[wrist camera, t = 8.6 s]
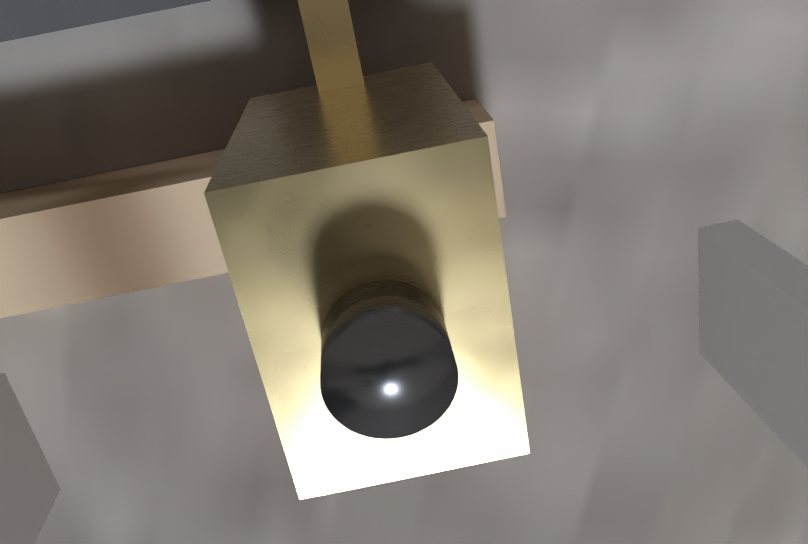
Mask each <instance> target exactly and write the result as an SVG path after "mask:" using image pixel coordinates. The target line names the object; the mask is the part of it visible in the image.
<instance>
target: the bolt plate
mask: <svg viewBox="0 0 808 544" xmlns="http://www.w3.org/2000/svg"><path fill="white" fill-rule="evenodd" d="M205 1H210V0H0V42H4V41H9V40H14V39H19V38H24V37H29V36H34V35H39V34H44V33H49V32H54V31H59V30H64V29H69V28H74V27H79V26H84V25H89V24H94V23H99V22H104V21H109V20H114V19H119V18H124V17H129V16H134V15H139V14H145V13H150V12H155V11H160V10H165V9H170V8H175V7H180V6H185V5H190V4H195V3H200V2H205Z"/></svg>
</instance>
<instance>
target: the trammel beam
mask: <svg viewBox="0 0 808 544" xmlns="http://www.w3.org/2000/svg"><path fill="white" fill-rule="evenodd" d="M462 103H463V104H464V105H465V107H466V108H467V109H468V110H469V112H470V113H471V114H472V116H473V117H474V118H475V120H476V121H477V122H478V124H479V125H480V126H481V128H482V129H483V130H484V132H485V133H486V134H487V136H488V141H489V148H490V156H491V163H492V171H493V179H494V186H495V194H496V201H497V209H498V216H499V218H504V217H506V211H505V204H504V196H503V188H502V180H501V172H500V165H499V157H498V149H497V141H496V133H495V125H494V120H493V119H492V118H491V116H490V115H489V114H488V113H487V112H486V111H485V109H484V108H483V107H482V106H481V105H480V104H479V102H478V101H477V100H476V99H472V100H467V101H462ZM224 151H225V149H222V150H217V151H212V152H207V153H202V154H197V155H192V156H187V157H182V158H177V159H172V160H167V161H162V162H157V163H152V164H147V165H142V166H137V167H132V168H127V169H122V170H117V171H112V172H107V173H102V174H97V175H92V176H87V177H82V178H77V179H72V180H67V181H62V182H57V183H52V184H47V185H42V186H37V187H32V188H27V189H22V190H17V191H12V192H6V193H1V194H0V318H5V317H10V316H15V315H20V314H25V313H30V312H35V311H40V310H45V309H50V308H55V307H60V306H65V305H70V304H75V303H80V302H85V301H90V300H95V299H100V298H104V297H109V296H114V295H119V294H124V293H129V292H134V291H139V290H144V289H149V288H154V287H159V286H164V285H169V284H174V283H179V282H184V281H189V280H194V279H199V278H204V277H209V276H214V275H219V274H224V273H229V272H228V269H227V265H226V262H225V259H224V256H223V253H222V249H221V246H220V243H219V240H218V237H217V233H216V230H215V227H214V224H213V221H212V217H211V214H210V211H209V208H208V205H207V201H206V198H205V195H204V192H205V189H206V187H207V185H208V183H209V181H210V179H211V177H212V175H213V173H214V171H215V169H216V167H217V165H218V163H219V161H220V159H221V157H222V155H223V153H224Z"/></svg>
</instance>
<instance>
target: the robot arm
mask: <svg viewBox="0 0 808 544" xmlns="http://www.w3.org/2000/svg"><path fill="white" fill-rule="evenodd" d="M698 262H699V331H700V353H701V354H702V355H703V357H704V358H705V359H706V360H707V361H708V362H709V363H710V364H711V365H712V366H713V367H714V368H715V369H716V370H717V372H718V373H719V374H720V375H721V376H722V377H723V378H724V379H725V380H726V381H727V382H728V383H729V384H730V386H731V387H732V388H733V389H734V390H735V391H736V392H737V393H738V394H739V395H740V396H741V397H742V398H743V399H744V401H745V402H746V403H747V404H748V405H749V406H750V407H751V408H752V409H753V410H754V411H755V412H756V413H757V414H758V416H759V417H760V418H761V419H762V420H763V421H764V422H765V423H766V424H767V425H768V426H769V427H770V428H771V430H772V431H773V432H774V433H775V434H776V435H777V436H778V437H779V438H780V439H781V440H782V441H783V442H784V443H785V445H786V446H787V447H788V448H789V449H790V450H791V451H792V452H793V453H794V454H795V455H796V456H797V457H798V459H799V460H800V461H801V462H802V463H803V464H804V465H805V466H806V467H807V468H808V266H807V265H806V264H804V263H803V262H801V261H800V260H798V259H797V258H795V257H794V256H792V255H791V254H789V253H788V252H786V251H785V250H783V249H782V248H780V247H778V246H777V245H775V244H774V243H772V242H771V241H769V240H768V239H766V238H765V237H763V236H762V235H760V234H759V233H757V232H756V231H754V230H753V229H751V228H750V227H748V226H747V225H745V224H744V223H742V222H741V221H739V220H733V221H728V222H724V223H719V224H714V225H709V226H705V227H700V228H698ZM59 490H60V487H59V485H58V483H57V481H56V479H55V477H54V475H53V473H52V471H51V468H50V466H49V464H48V462H47V460H46V458H45V456H44V454H43V452H42V450H41V448H40V445H39V443H38V441H37V439H36V437H35V435H34V433H33V431H32V429H31V427H30V425H29V422H28V420H27V418H26V416H25V414H24V412H23V410H22V408H21V406H20V404H19V402H18V399H17V397H16V395H15V393H14V391H13V389H12V387H11V385H10V383H9V381H8V379H7V376H6V374H5V373H2V374H0V544H34V543H35V541H36V539H37V536H38V534H39V532H40V530H41V528H42V526H43V524H44V522H45V520H46V518H47V515H48V513H49V511H50V509H51V507H52V505H53V503H54V501H55V499H56V497H57V494H58V492H59Z"/></svg>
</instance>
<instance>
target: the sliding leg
mask: <svg viewBox="0 0 808 544" xmlns="http://www.w3.org/2000/svg"><path fill="white" fill-rule="evenodd" d="M298 4H299V9H300V13H301V18H302V22H303V26H304V31H305V35H306V40H307V44H308V48H309V53H310V57H311V61H312V66H313V70H314V75H315V79H316V83H317V85H313V86H308V87H303V88H298V89H293V90H288V91H283V92H278V93H273V94H268V95H263V96H258V97H253V98H250V99H249V102H248V104H247V106H246V108H245V110H244V112H243V114H242V116H241V118H240V120H239V122H238V124H237V126H236V128H235V130H234V132H233V134H232V136H231V138H230V140H229V142H228V144H227V147H226V149H225V151H224V153H223V155H222V157H221V159H220V161H219V163H218V165H217V167H216V169H215V171H214V173H213V175H212V177H211V179H210V181H209V183H208V185H207V187H206V189H205V192H204V195H205V198H206V201H207V205H208V208H209V211H210V214H211V217H212V221H213V224H214V227H215V230H216V233H217V237H218V240H219V243H220V246H221V249H222V253H223V256H224V259H225V262H226V265H227V269H228V272H229V275H230V278H231V281H232V285H233V288H234V291H235V294H236V298H237V301H238V304H239V307H240V310H241V314H242V317H243V320H244V323H245V326H246V330H247V333H248V336H249V339H250V342H251V346H252V349H253V352H254V355H255V358H256V362H257V365H258V368H259V371H260V374H261V378H262V381H263V384H264V387H265V391H266V394H267V397H268V400H269V403H270V407H271V410H272V413H273V416H274V419H275V423H276V426H277V429H278V432H279V435H280V439H281V442H282V445H283V448H284V451H285V455H286V458H287V461H288V464H289V467H290V471H291V474H292V477H293V480H294V484H295V487H296V490H297V493H298V496H299V500H302V499H307V498H312V497H317V496H322V495H327V494H332V493H337V492H342V491H347V490H352V489H357V488H361V487H366V486H371V485H376V484H381V483H386V482H391V481H396V480H401V479H406V478H411V477H416V476H421V475H426V474H431V473H436V472H441V471H446V470H451V469H456V468H460V467H465V466H470V465H475V464H480V463H485V462H490V461H495V460H500V459H505V458H510V457H515V456H520V455H525V454H530V450H529V442H528V435H527V427H526V420H525V412H524V405H523V397H522V389H521V382H520V374H519V367H518V359H517V352H516V344H515V337H514V329H513V322H512V314H511V307H510V299H509V292H508V284H507V276H506V269H505V261H504V254H503V246H502V239H501V231H500V224H499V216H498V209H497V201H496V194H495V186H494V179H493V171H492V163H491V156H490V148H489V141H488V136H487V134H486V133H485V132H484V130H483V129H482V128H481V126H480V125H479V124H478V122H477V121H476V120H475V118H474V117H473V116H472V114H471V113H470V112H469V110H468V109H467V108H466V107H465V105H464V104H463V103H462V101H461V100H460V99H459V97H458V96H457V95H456V93H455V92H454V91H453V89H452V88H451V87H450V85H449V84H448V83H447V81H446V80H445V79H444V77H443V76H442V75H441V74H440V72H439V71H438V70H437V68H436V67H435V66H434V64H433V63H432V62H429V63H424V64H419V65H414V66H408V67H403V68H398V69H393V70H388V71H383V72H378V73H373V74H368V75H363V74H362V69H361V64H360V59H359V54H358V49H357V44H356V39H355V34H354V29H353V24H352V19H351V14H350V9H349V4H348V0H298Z"/></svg>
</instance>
